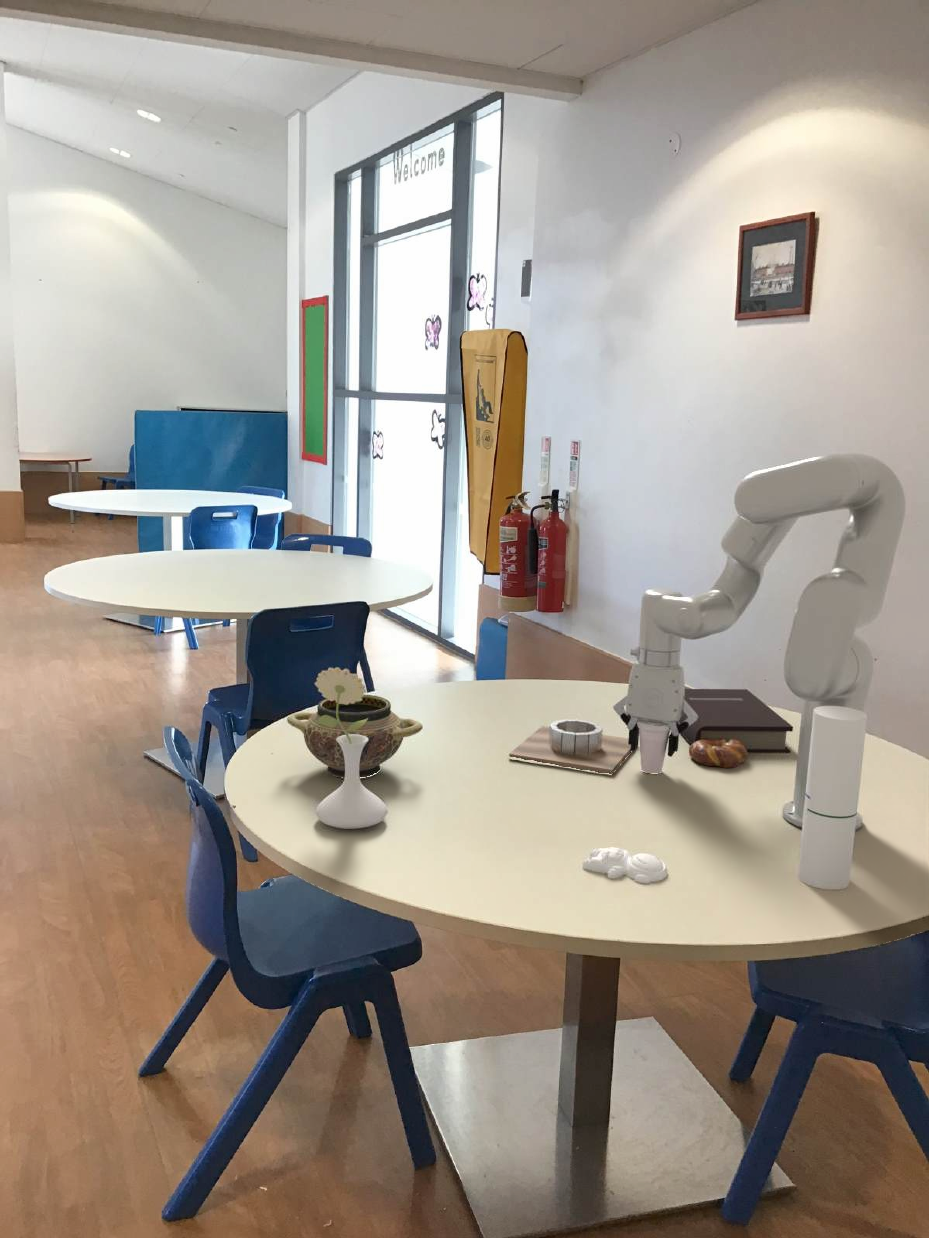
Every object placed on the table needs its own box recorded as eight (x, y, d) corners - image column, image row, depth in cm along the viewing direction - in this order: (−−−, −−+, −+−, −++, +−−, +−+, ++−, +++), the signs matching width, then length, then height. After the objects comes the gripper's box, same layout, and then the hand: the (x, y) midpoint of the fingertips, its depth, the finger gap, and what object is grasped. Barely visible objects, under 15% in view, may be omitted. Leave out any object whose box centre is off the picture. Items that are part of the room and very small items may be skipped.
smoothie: (631, 774, 198) (636, 700, 195) (636, 763, 204) (641, 692, 201) (666, 778, 196) (672, 705, 193) (670, 768, 202) (676, 696, 199)
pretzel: (718, 747, 215) (720, 729, 215) (761, 763, 207) (763, 744, 206) (675, 756, 209) (677, 737, 208) (717, 772, 200) (719, 753, 199)
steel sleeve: (592, 757, 203) (594, 737, 202) (542, 750, 206) (543, 730, 206) (606, 743, 212) (607, 723, 211) (558, 736, 215) (559, 716, 215)
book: (659, 714, 239) (660, 688, 238) (744, 714, 240) (746, 689, 239) (693, 754, 212) (696, 726, 210) (790, 755, 213) (793, 726, 212)
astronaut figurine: (596, 851, 164) (597, 833, 163) (673, 868, 159) (674, 849, 158) (576, 873, 156) (577, 853, 156) (656, 891, 151) (658, 871, 150)
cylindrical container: (838, 868, 159) (855, 706, 155) (857, 889, 152) (875, 720, 148) (790, 867, 159) (806, 705, 154) (807, 889, 152) (824, 719, 147)
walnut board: (611, 776, 196) (612, 769, 196) (508, 759, 204) (509, 753, 204) (637, 745, 215) (637, 739, 214) (542, 731, 222) (542, 725, 222)
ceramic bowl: (427, 779, 200) (433, 698, 201) (407, 788, 182) (413, 700, 183) (300, 768, 204) (306, 689, 205) (269, 776, 186) (275, 690, 187)
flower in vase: (401, 818, 174) (404, 668, 169) (359, 841, 164) (361, 683, 159) (336, 801, 180) (337, 656, 175) (292, 822, 171) (292, 670, 166)
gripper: (607, 656, 195) (601, 750, 199) (703, 667, 189) (695, 764, 192) (617, 647, 202) (612, 739, 206) (710, 658, 196) (703, 752, 199)
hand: (652, 750), depth 199 cm, fingers closed on smoothie, 6 cm apart
